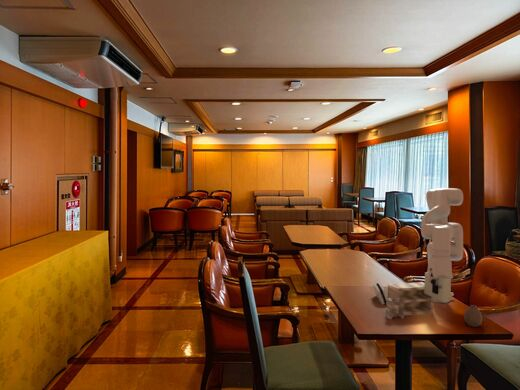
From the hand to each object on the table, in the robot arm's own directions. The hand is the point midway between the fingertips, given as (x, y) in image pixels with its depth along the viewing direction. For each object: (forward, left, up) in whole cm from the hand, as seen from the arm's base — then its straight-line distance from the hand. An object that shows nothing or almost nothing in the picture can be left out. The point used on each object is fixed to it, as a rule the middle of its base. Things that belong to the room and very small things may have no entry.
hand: (439, 292), depth 175 cm
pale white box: (0, -2, -2) cm, 3 cm away
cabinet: (+9, -11, -13) cm, 19 cm away
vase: (-11, +9, -13) cm, 19 cm away
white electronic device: (+8, -33, -13) cm, 36 cm away
